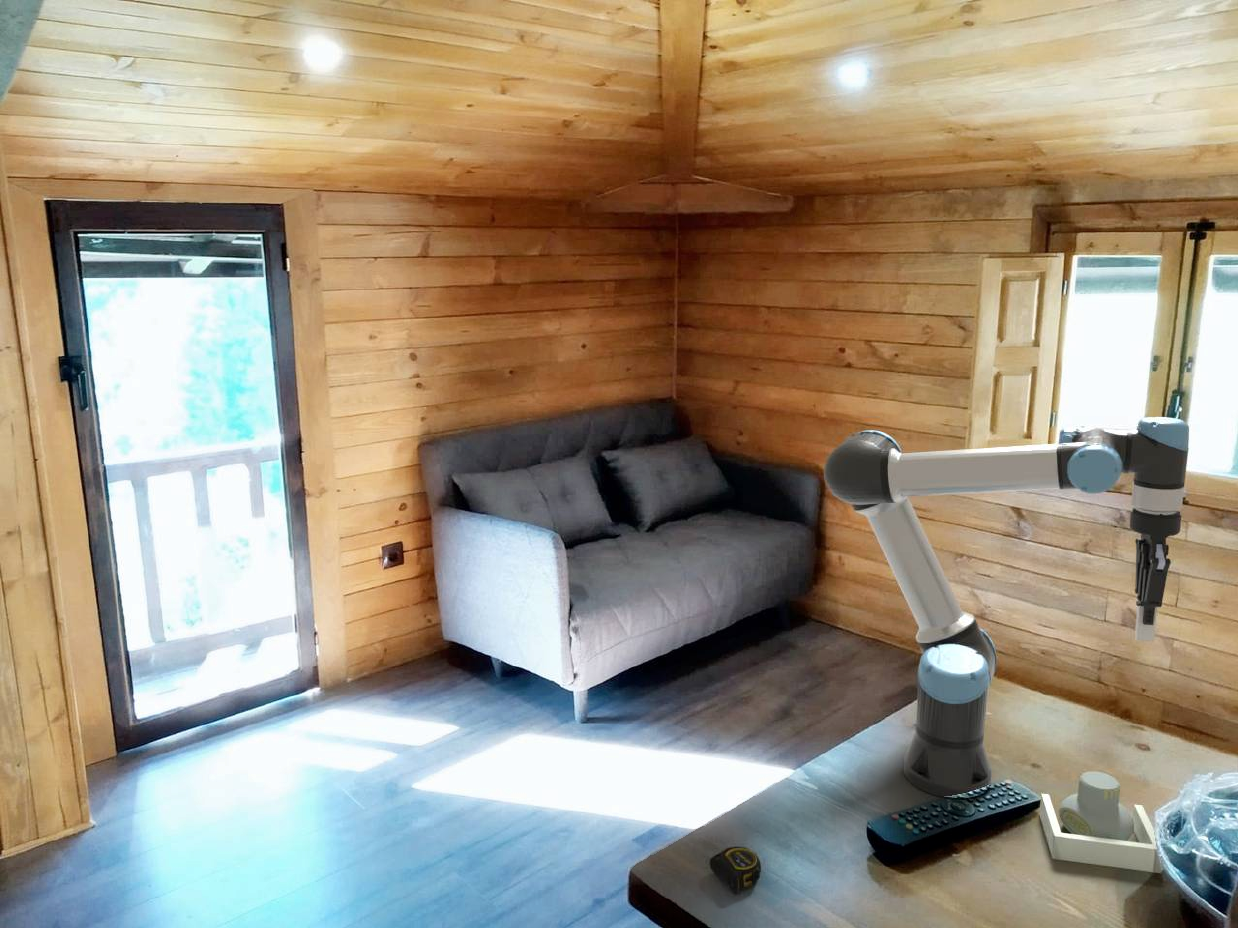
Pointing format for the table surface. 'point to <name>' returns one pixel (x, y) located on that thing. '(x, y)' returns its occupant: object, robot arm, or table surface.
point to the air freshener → (1097, 809)
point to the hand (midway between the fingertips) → (1144, 639)
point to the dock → (1102, 843)
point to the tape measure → (736, 867)
